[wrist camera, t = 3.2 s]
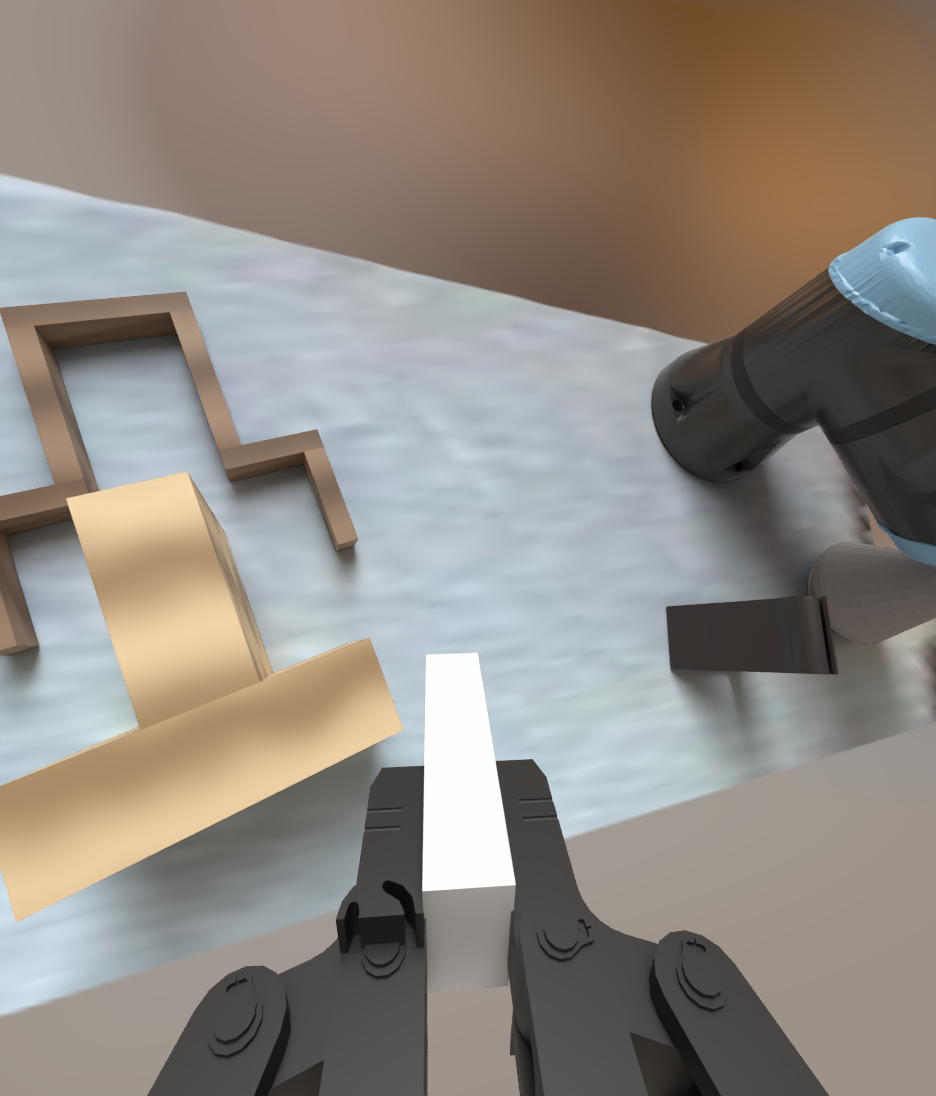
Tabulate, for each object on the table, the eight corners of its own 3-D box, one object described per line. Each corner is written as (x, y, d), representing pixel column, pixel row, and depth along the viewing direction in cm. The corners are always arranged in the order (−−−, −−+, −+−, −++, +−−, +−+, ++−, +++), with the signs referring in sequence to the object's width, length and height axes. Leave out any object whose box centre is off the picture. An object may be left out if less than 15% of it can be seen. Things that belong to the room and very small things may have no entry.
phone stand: (669, 668, 45) (790, 673, 34) (664, 606, 46) (779, 590, 35) (740, 671, 47) (873, 676, 36) (733, 612, 49) (860, 599, 38)
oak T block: (370, 705, 35) (403, 729, 24) (125, 819, 29) (16, 922, 18) (299, 510, 36) (299, 446, 25) (49, 578, 30) (-96, 534, 19)
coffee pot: (813, 654, 51) (1001, 653, 38) (783, 553, 53) (952, 517, 39) (923, 620, 59) (1113, 610, 45) (893, 533, 61) (1067, 498, 47)
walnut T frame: (354, 545, 37) (357, 538, 35) (9, 655, 29) (-17, 655, 26) (265, 306, 39) (263, 285, 36) (-85, 343, 30) (-117, 318, 28)
